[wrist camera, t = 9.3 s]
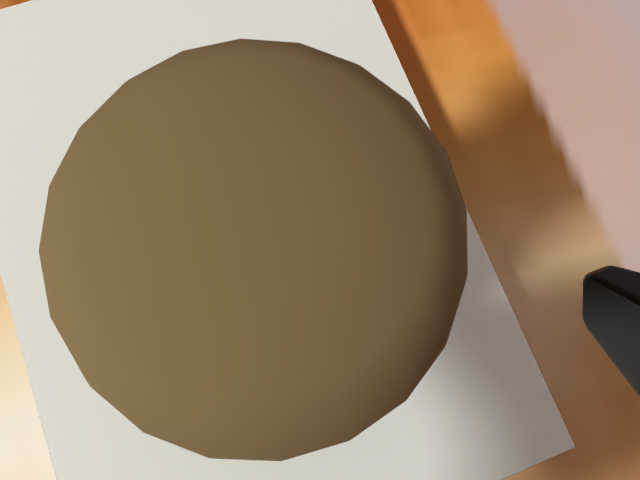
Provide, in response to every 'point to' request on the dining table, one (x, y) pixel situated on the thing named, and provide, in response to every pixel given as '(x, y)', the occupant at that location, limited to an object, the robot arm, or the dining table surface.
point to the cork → (254, 250)
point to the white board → (59, 365)
